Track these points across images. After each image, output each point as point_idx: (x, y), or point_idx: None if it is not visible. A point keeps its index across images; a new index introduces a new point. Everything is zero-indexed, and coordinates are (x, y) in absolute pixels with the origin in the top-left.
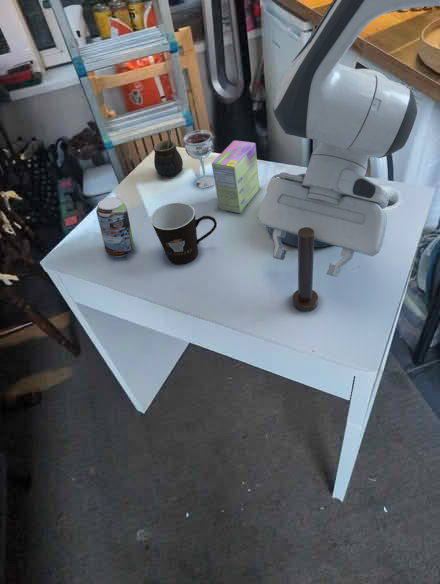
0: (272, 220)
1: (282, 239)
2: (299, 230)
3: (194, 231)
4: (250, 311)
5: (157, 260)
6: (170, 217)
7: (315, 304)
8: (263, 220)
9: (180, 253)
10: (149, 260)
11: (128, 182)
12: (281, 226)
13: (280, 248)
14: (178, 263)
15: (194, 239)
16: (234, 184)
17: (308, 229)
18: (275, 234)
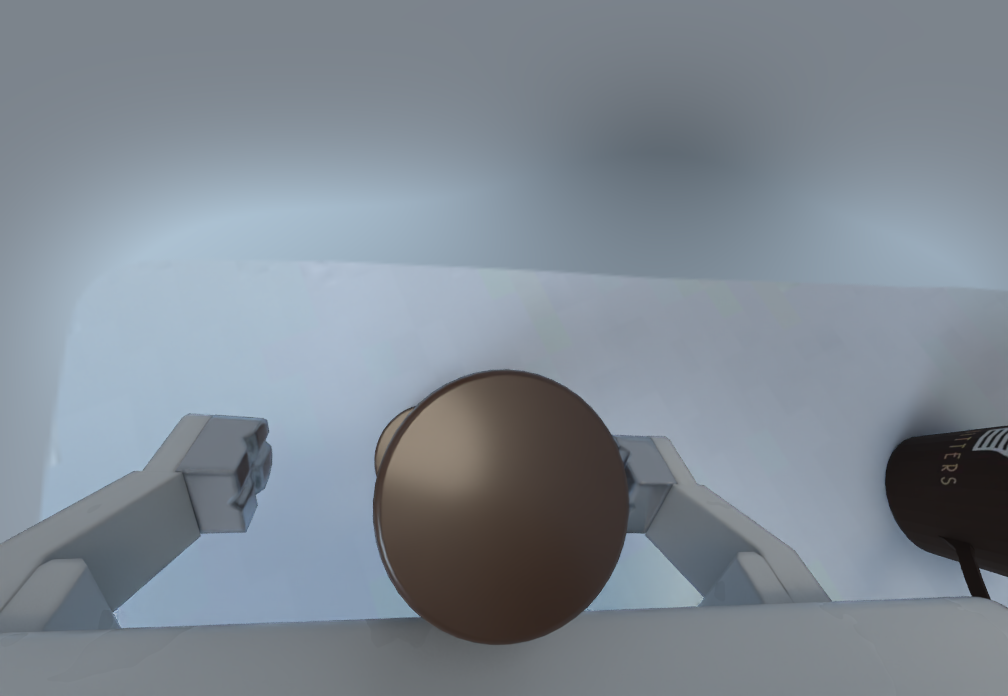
0: (952, 656)
1: None
2: (617, 495)
3: None
4: (590, 339)
5: (969, 429)
6: None
7: (377, 443)
8: (1002, 625)
9: (963, 442)
10: (987, 418)
11: None
12: (818, 624)
13: (659, 482)
14: (914, 439)
15: (997, 517)
16: None
17: (500, 585)
18: (779, 560)
